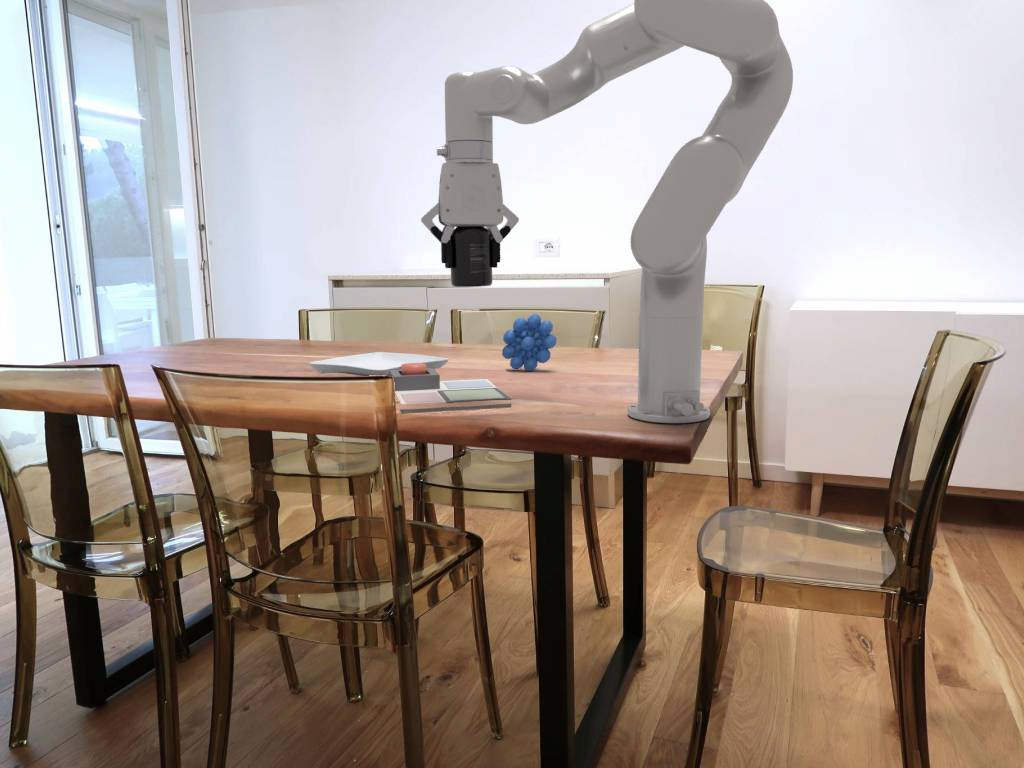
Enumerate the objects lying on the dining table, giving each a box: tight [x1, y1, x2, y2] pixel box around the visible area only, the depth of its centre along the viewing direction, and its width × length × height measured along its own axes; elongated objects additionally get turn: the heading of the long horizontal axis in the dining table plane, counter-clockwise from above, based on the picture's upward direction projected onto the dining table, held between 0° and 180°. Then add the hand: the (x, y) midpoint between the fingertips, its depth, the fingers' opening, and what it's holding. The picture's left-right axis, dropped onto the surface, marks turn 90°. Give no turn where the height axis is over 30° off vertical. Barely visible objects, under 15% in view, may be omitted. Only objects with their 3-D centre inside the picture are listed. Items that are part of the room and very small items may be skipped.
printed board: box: [394, 378, 512, 414], centre depth 143 cm, size 21×18×2 cm
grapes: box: [501, 313, 557, 372], centre depth 174 cm, size 12×7×12 cm, turn 77°
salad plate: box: [308, 351, 450, 376], centre depth 172 cm, size 21×21×3 cm
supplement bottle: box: [450, 226, 493, 288], centre depth 135 cm, size 7×7×12 cm
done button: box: [401, 363, 426, 375], centre depth 148 cm, size 4×4×2 cm
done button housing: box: [389, 368, 441, 391], centre depth 148 cm, size 8×8×2 cm
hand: (471, 266), depth 135 cm, fingers closed on supplement bottle, 6 cm apart
